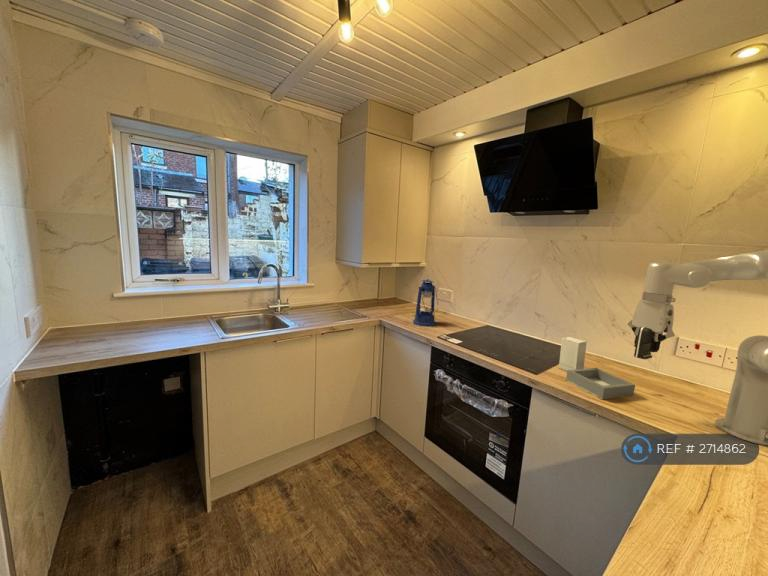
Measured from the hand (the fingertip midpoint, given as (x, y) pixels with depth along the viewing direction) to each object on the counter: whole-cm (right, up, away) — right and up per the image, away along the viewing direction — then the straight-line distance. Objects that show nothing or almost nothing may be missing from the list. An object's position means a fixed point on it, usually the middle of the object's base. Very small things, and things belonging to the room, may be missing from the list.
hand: (645, 348), depth 108 cm
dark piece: (0, -4, 0) cm, 4 cm away
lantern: (-65, -3, +99) cm, 118 cm away
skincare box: (-7, -16, +32) cm, 37 cm away
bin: (-6, -19, +16) cm, 25 cm away
